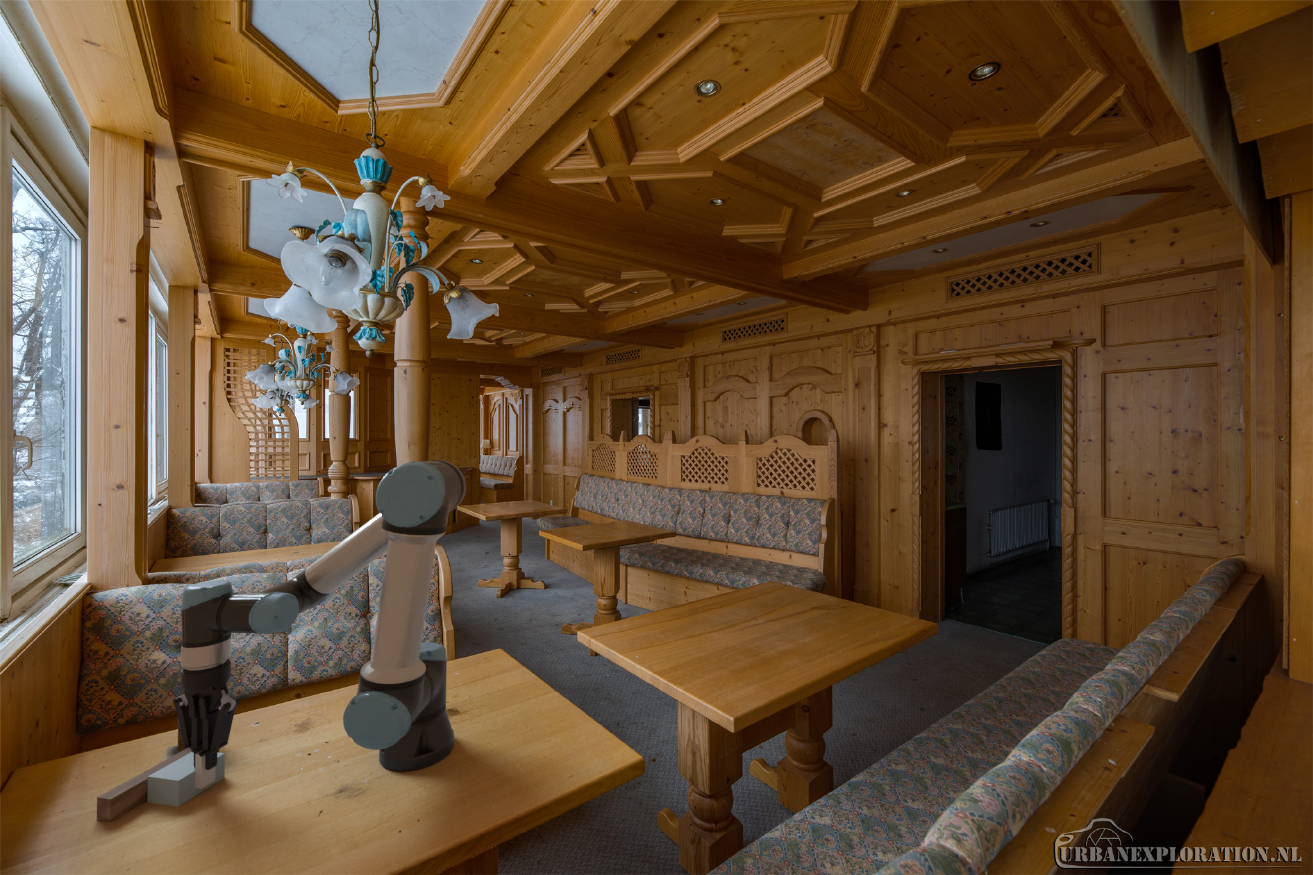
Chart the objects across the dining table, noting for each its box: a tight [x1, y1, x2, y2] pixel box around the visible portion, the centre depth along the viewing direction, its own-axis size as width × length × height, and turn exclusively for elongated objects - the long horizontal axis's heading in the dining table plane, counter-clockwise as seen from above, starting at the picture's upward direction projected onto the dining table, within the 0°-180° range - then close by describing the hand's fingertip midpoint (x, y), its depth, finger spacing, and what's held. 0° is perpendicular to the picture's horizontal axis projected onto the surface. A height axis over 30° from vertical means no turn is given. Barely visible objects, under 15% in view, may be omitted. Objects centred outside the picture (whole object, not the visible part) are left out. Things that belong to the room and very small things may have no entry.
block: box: [147, 751, 226, 807], centre depth 106 cm, size 7×9×5 cm
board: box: [96, 748, 220, 823], centre depth 107 cm, size 3×20×4 cm, turn 170°
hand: (205, 783), depth 105 cm, fingers closed
